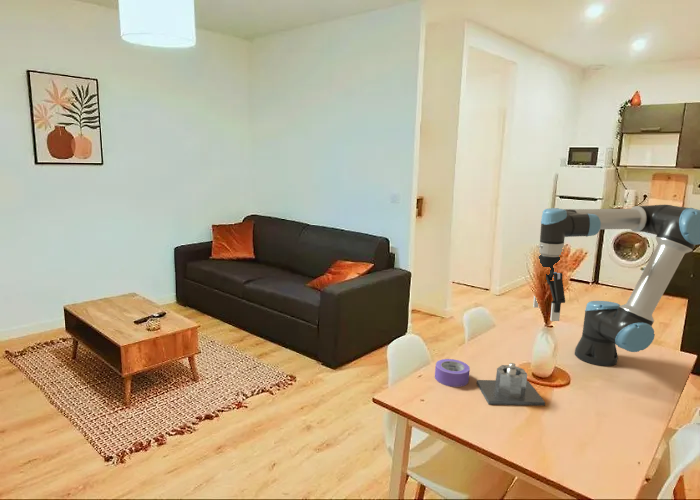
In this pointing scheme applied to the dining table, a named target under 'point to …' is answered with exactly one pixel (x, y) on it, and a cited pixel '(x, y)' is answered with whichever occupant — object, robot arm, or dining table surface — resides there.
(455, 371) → the tape roll
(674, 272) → the robot arm
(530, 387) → the shaft stand
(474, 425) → the dining table surface
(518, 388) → the ring
